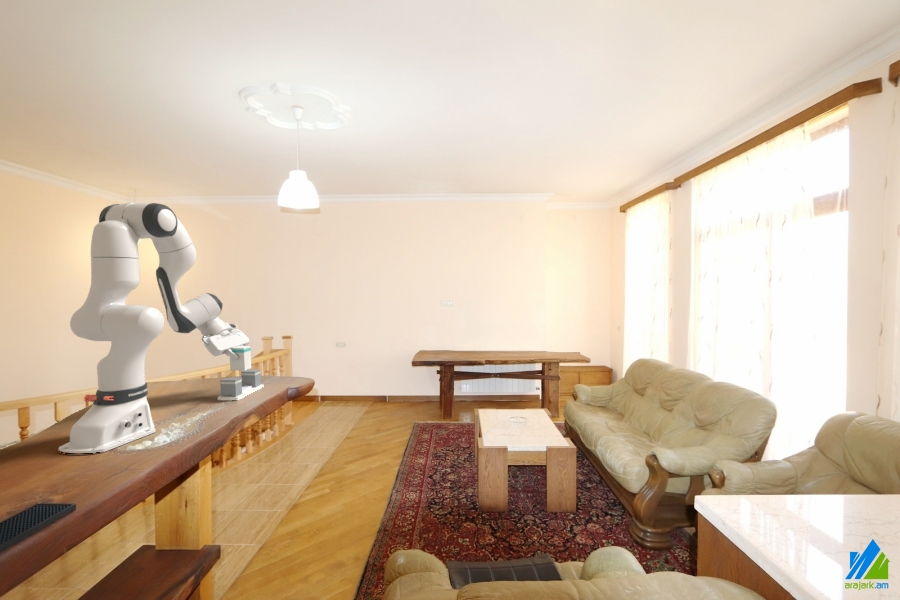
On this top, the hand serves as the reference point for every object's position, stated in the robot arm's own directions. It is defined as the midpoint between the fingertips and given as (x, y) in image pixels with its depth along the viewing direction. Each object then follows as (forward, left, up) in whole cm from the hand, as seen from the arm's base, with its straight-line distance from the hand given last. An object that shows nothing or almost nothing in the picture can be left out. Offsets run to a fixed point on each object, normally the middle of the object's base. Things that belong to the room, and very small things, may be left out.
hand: (242, 357), depth 160 cm
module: (0, +1, -5) cm, 5 cm away
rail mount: (0, +1, -15) cm, 15 cm away
